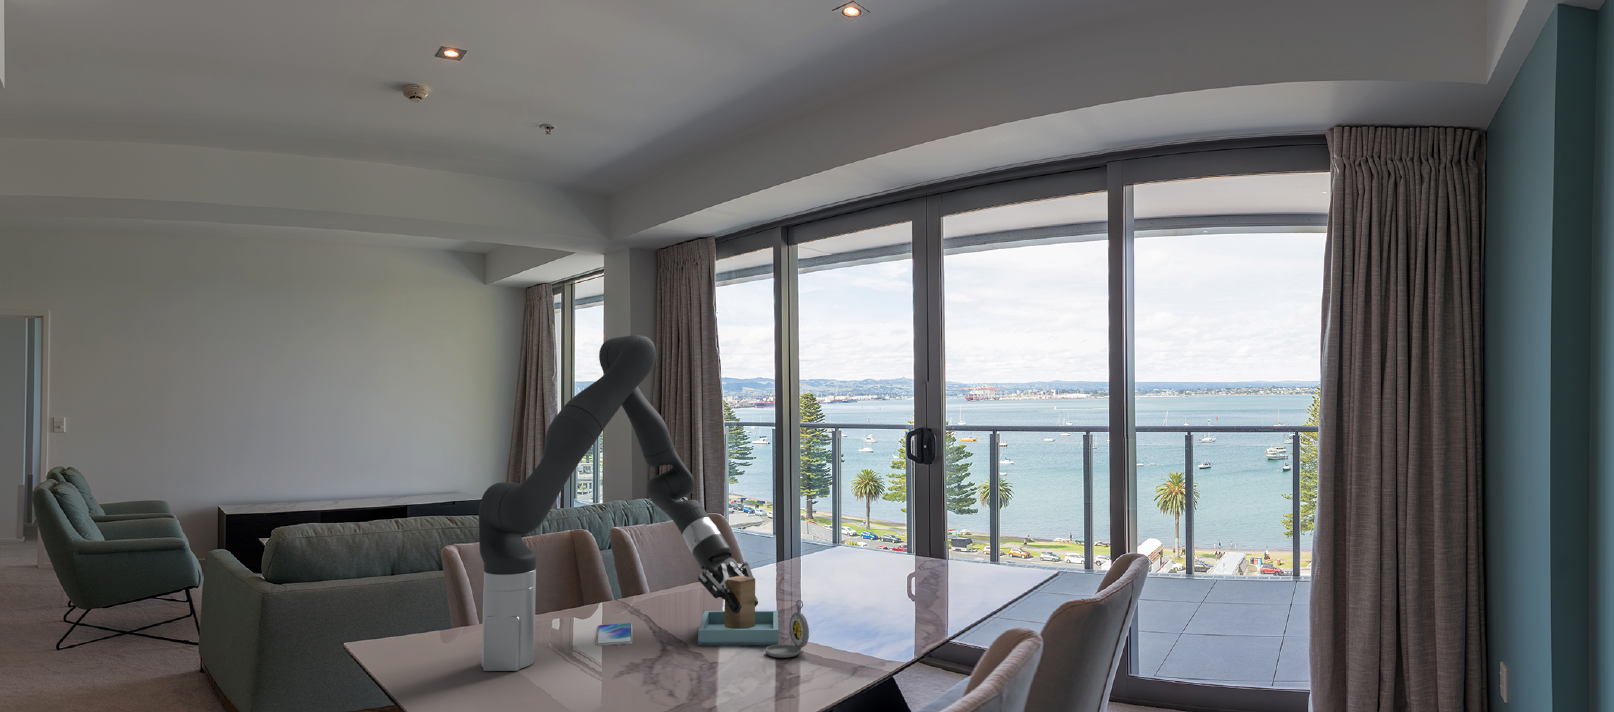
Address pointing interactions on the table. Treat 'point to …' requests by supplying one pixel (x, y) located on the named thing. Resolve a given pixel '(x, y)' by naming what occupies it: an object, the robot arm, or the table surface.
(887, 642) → the table surface
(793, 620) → the pocket watch
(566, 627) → the table surface
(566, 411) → the robot arm
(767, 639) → the tray
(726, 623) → the walnut block
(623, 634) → the smartphone
